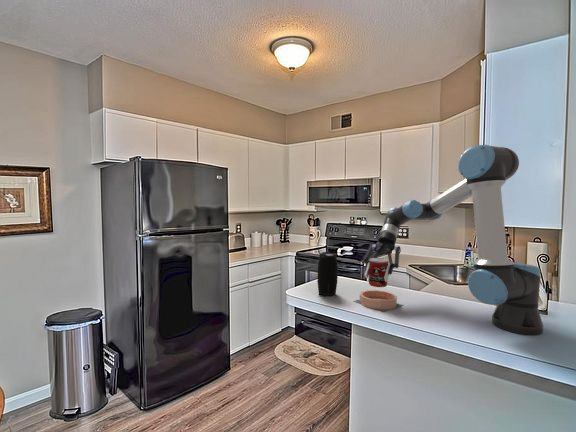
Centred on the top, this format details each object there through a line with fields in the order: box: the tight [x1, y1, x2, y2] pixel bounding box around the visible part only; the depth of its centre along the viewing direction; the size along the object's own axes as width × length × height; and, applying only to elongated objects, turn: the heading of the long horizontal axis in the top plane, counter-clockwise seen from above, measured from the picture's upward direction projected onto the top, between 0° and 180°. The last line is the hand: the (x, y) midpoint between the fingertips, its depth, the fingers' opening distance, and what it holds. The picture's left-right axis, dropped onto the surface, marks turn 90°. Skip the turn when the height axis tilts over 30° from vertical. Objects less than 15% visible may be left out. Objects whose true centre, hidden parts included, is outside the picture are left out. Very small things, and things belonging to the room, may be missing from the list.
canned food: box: [368, 257, 389, 288], centre depth 140 cm, size 8×8×11 cm
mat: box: [352, 299, 404, 313], centre depth 140 cm, size 16×14×1 cm
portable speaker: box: [316, 251, 339, 298], centre depth 151 cm, size 9×9×20 cm
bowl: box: [359, 289, 398, 310], centre depth 140 cm, size 15×15×4 cm
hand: (375, 278), depth 137 cm, fingers closed on canned food, 8 cm apart
